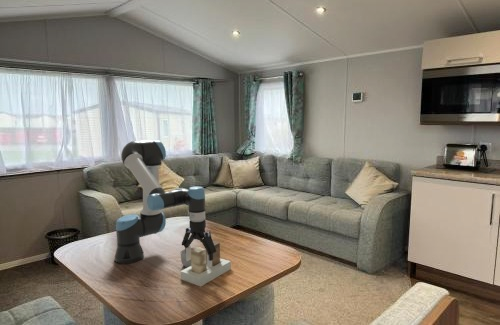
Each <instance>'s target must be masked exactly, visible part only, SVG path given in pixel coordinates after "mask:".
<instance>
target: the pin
mask: <svg viewBox="0 0 500 325" xmlns="http://www.w3.org/2000/svg"><path fill="white" fill-rule="evenodd" d="M194 248H195V249H193V250H191V267H192V272H195V273H198V274H201V273H202V272H204V271H206V270H207V265H206V249H205V247H204V248H203V247H200V246H197V247H194Z"/></svg>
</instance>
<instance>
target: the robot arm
mask: <svg viewBox="0 0 500 325" xmlns="http://www.w3.org/2000/svg"><path fill="white" fill-rule="evenodd" d="M164 145H165V144H164V143H163V142H162V141H161V140H158V139H157V140H156V139H148V140H147V139H146V140H134V141H129V142H128V143H127V144H126V145H124V147H123V148H122V150H121V154H120V155H121V156H120V157H121V162H122V164H123V165H124V167H125V168H127V169H129V170H130V172H131V173H132V174H133V176H134V178H135V179H136V181H137V182H138V184H139V185H140V187H141V188H142V209H141V210H140V215H138V214H135V213H134V214H127V215H123V216H121V217H119V218H117V219H116V222H115V230H116V243H117V245H116V250H115V254H114V262H115V261H116V262H115V263H117V262H118V264H121V263H127V264H132V263H136V262H139V261H141V260H142V259H144V257H145V254H144V252H145V251H144V250H143V247H142V246H141V240H140V239H141V238H143V237H147V236H151V235H155V234H158V233H160V232H163V231H164V229H165V227H166V222H167V220H166V219H167V218H166V215H165V213H164V212H163V211H162V210H165V209H168V208H174V207H179V206H184V205H185V206H188V216H189V218H188V219H189V227H186V228H185V233H184V236H183V239H182V242H181V246H183V247H184V249H185V253H186V261H189V260H191V248H192V247H191V244H192V242H194V240H197V241H199V242H200V243H202V245H203V247H204V249H206V250H207V252H208V254H207V268H209V267H211V266H212V260H213V253H215V252H216V248H215V246H214V243H213V241H214V240H213V238H212V234H211V231H206V227H207V226H206V225H207V222H206V221H207V220H206V219H207V218H206V217H207V216H206V194H205V188H204V187H203V186H199V185H198V186H196V185H195V186H190V187H188V188H185V187H177V188H176V189H174V190H168V191H165V190H164V189H163V187H162V185H161V184H160V179H159V178H160V175H159V174H160V172H159V171H160V170H159V169H160V167H161V166H162V162H163V161H165V160H166V156H167V152H166V148H165V146H164Z"/></svg>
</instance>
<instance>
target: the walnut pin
mask: <svg viewBox="0 0 500 325" xmlns="http://www.w3.org/2000/svg"><path fill="white" fill-rule="evenodd" d="M213 243H214V246H215V248H216V252H215V253H213V260H212V266H215V265H217V264H219V263H220V258H221V244H220V242H219V241H214V240H213ZM207 254H208V252H207V250H206V264H207Z"/></svg>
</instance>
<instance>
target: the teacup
mask: <svg viewBox="0 0 500 325" xmlns="http://www.w3.org/2000/svg"><path fill="white" fill-rule="evenodd" d="M195 248H196V247H191V250H193V249H195ZM179 254H180V260H181V261H180V262H181V264H182V265H183V266H184V267H185V268H188V267H190V266H191V260H189V261H186V253H185V248H184V249H182V250H180V253H179Z"/></svg>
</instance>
